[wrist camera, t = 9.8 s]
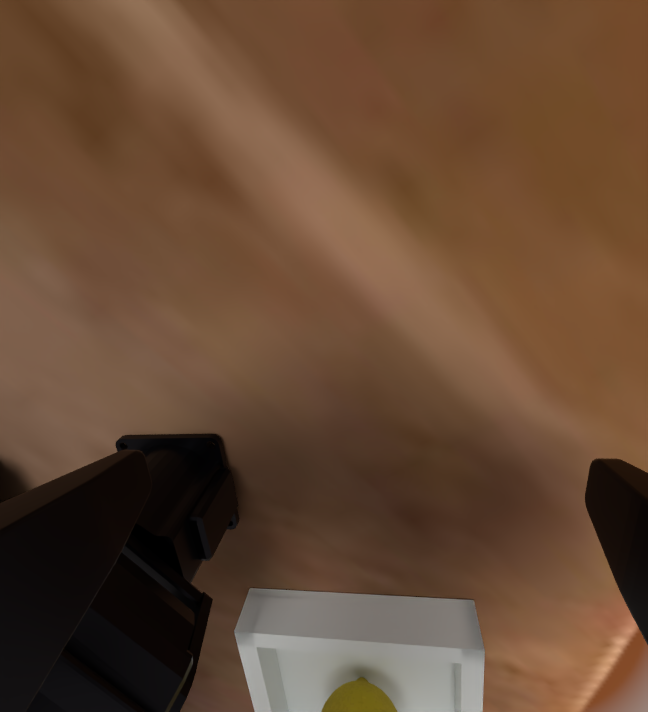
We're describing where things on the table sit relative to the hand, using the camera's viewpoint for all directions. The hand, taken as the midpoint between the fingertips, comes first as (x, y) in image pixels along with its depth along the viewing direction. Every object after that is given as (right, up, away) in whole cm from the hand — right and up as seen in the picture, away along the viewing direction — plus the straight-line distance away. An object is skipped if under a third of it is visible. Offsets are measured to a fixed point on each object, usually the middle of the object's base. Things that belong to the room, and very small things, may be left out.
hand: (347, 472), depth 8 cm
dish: (+2, -20, +20) cm, 28 cm away
